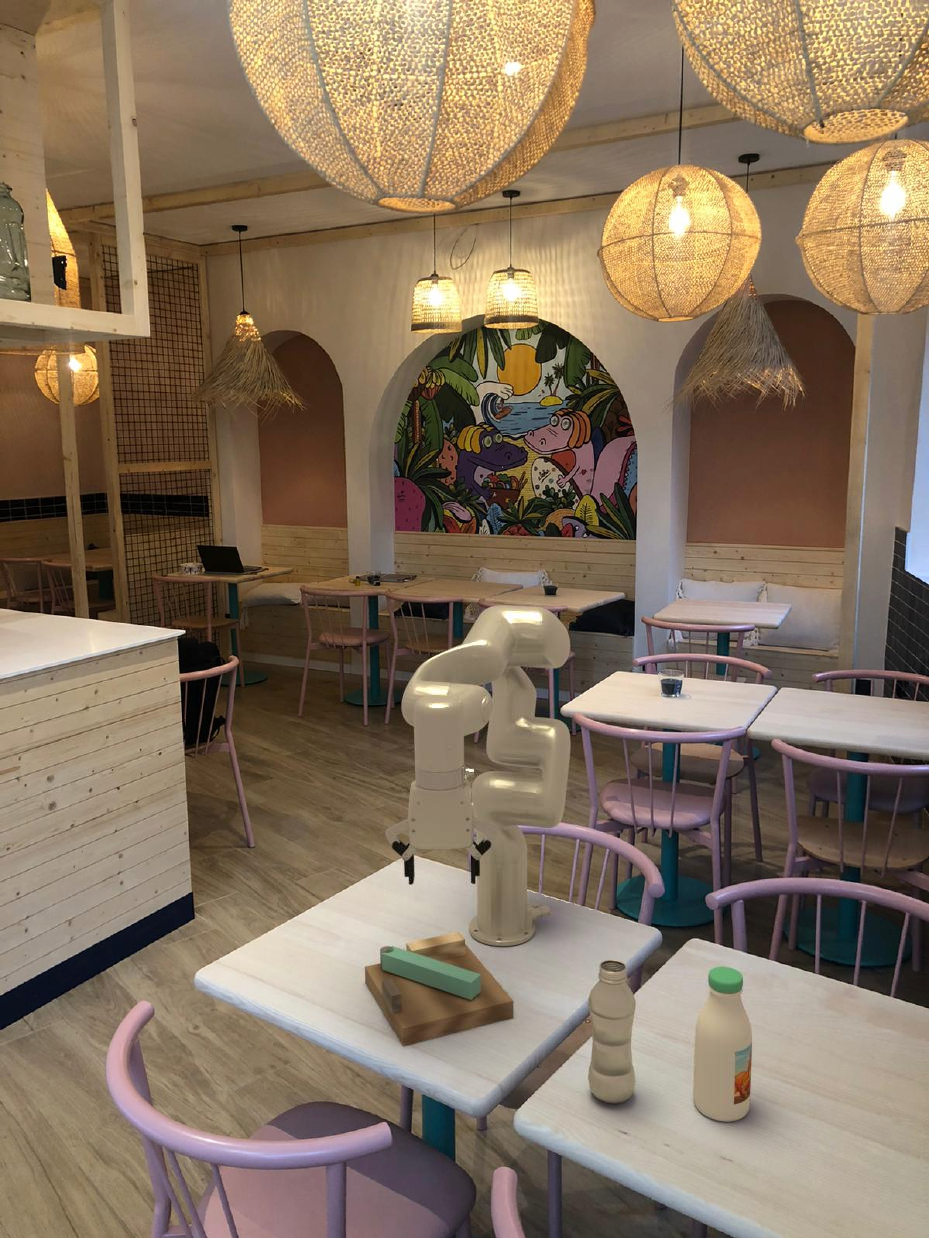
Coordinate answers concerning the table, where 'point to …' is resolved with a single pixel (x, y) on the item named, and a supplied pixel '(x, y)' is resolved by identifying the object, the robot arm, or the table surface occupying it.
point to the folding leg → (430, 972)
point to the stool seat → (437, 995)
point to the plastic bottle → (611, 1034)
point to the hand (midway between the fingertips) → (442, 880)
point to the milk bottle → (723, 1050)
